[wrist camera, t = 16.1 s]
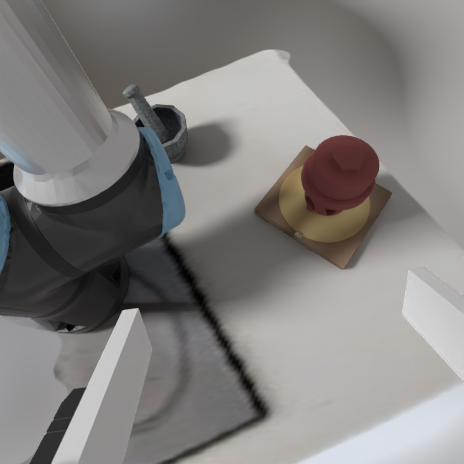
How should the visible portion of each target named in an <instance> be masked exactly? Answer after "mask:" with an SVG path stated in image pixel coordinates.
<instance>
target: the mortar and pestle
mask: <svg viewBox="0 0 464 464" xmlns="http://www.w3.org/2000/svg"><path fill="white" fill-rule="evenodd" d="M123 95H124V96H125V97H126V98H127V99H129V101H130V103H131V104H132V106H133V108H134V109H135V111H136V113H137V114H138V115H137V116H136V118H135V119H134V120H133V122H134V124H135V125H136V127H142V128H143V127H150V128H151V129H152V130H153V131H154V132H155V134H156V135H157V137H158V138H159V140H160V142H161V144H162V146H163V148H164V150H165V152H166V154H167V156H168V158H169V161H170V163H171V164H172V163H174V162H176V161H178V160H180V158H181V157H182V155H183V154H184V146H185V144H186V142H187V140H188V135H187V126H186V119H185V116H184V114H183V113H182V112H180V111H179V110H178V109H177V108H175V107H174V106H172V105H160V104H156V105H154V106H150V105H149V104H148V102H147V101H146V99H145V98H144V97H143V95H142V94H141V92H140V88H139V86H138V85H131V86H129V87H127V88H126V89H125V90H124V92H123Z"/></svg>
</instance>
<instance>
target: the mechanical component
mask: <svg viewBox="0 0 464 464" xmlns="http://www.w3.org/2000/svg"><path fill="white" fill-rule="evenodd" d="M378 171H379V159H378V156H377V154H376V153H375V151H374V150H373V149H372V147H371V146H369V144H367V143H366V142H364V141H362V140H361V139H358V138H356V137H352V136H346V135H340V136H334V137H331V138H328V139H326V140H324V141H323V142H322V143H321V144H320V145H319V146H318V147H317V149H316V150H315V151H314V152H313V153H312V154H311V155H310V156H309V157H308V158H307V159H306V161H305V163H304V166H303V169H302V172H301V183H302V186H303V189H304V191H305V201H306V203H307V205H306V208H307V210H308V211H311V212H313V211H314V212H316V213H318V214H320V215H324V216H333V215H336V214H339V213H341V212H342V211H343V210H348V209H352V208H355V207H357V206H359V205H360V204H362V203H363V202H364V201H365V200H366V199H367V198H368V196H369V195H370V194H371V192H372V191H373V188H374V185H375V177H376V176H377V174H378Z"/></svg>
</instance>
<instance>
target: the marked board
mask: <svg viewBox="0 0 464 464" xmlns="http://www.w3.org/2000/svg"><path fill="white" fill-rule="evenodd" d="M314 151H315V150H313V149H312V148H310V147H308V146H305V147H304V148H303V149H302V151H301V152H300V153H299V154H298V156H297V157H296V158H295V159H294V161H293V162H292V163H291V164H290V166H289V167H288V168H287V169H286V171H285V172H284V173H283V174H282V176H281V177H280V178H279V179H278V181H277V182H276V183H275V184H274V186H273V187H272V188H271V189H270V191H269V192H268V193H267V194H266V196H265V197H264V198H263V199H262V201H261V202H260V203H259V204H258V206H257V207H256V208H255V213H256V214H258V215H259V216H261V217H262V218H264V219H266V220H267V221H269V222H270V223H272V224H273V225H275V226H276V227H278V228H279V229H281V230H282V231H284V232H285V233H287V234H288V235H290V236H291V237H293V238H294V239H296V240H298V241H299V242H301V243H302V244H304V245H305V246H307V247H308V248H310V249H311V250H313V251H314V252H316V253H317V254H319V255H320V256H322V257H323V258H325V259H326V260H328V261H329V262H331V263H333V264H334V265H336V266H337V267H339V268H340V269H343V268H345V266H346V265H347V263H348V262H349V260H350V258H351V257H352V255H353V254H354V252H355V251H356V249H357V248H358V246H359V244H360V243H361V241H362V240H363V238H364V237H365V235H366V233H367V232H368V230H369V229H370V227H371V226H372V224H373V222H374V221H375V219H376V218H377V216H378V215H379V213H380V212H381V210H382V208H383V207H384V205H385V204H386V202H387V201H388V199H389V197H390V196H391V194H392V192H390V191H388V190H386V189H385V188H383V187H381V186H379V185H377V184H375V185H374V188H373V191H372V192H371V194H370V195H369V196H368V198H367V199H366V200H365V201H364V202H363V203H362V204H360V205H359V206H357V207H355V208H352V209H348V210H343V211H342V212H341V213H339V214H336V215H333V216H324V215H320V214H318V213H316V212H314V211H313V212H311V211H308V210H307V208H306V205H307V203H306V201H305V191H304V189H303V186H302V183H301V172H302V169H303V166H304V163H305V161H306V159H307V158H308V157H309V156H310V155H311V154H312V153H313V152H314Z"/></svg>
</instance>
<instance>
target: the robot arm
mask: <svg viewBox="0 0 464 464" xmlns="http://www.w3.org/2000/svg"><path fill="white" fill-rule="evenodd" d="M0 152H1V153H2V154H4V155H5V156H6V157H7V158H8V159H9V160H11V161H12V162H13V163H14V164H15V166H14V182H15V186H13V187H10V188H8V189H6V190H4V191H0V315H1V316H14V317H26V318H31V319H33V320H34V321H36V322H37V323H39V324H40V325H41V326H43V327H45V328H46V329H48V330H51V331H54V332H58V333H70V334H76V333H84V332H87V331H90V330H93V329H95V328H97V327H99V326H101V325H102V324H104V323H105V322H106V321H108V320H109V319H110V318H111V317H112V316H113V315H114V314H115V313H116V311H117V310H118V309H119V307H120V306H121V304H122V302H123V300H124V298H125V296H126V293H127V289H128V284H129V272H128V267H127V263H126V261H125V259H124V257H123V256H122V255H124V254H126V253H128V252H130V251H132V250H134V249H136V248H138V247H140V246H142V245H144V244H147V243H149V242H151V241H153V240H155V239H157V238H160V237H162V236H163V235H164V234H165V233H166V232H168V231H169V230H171V229H173V228H174V227H176V226H178V225H179V224H180V223H181V222H182V221H183V219H184V217H185V204H184V199H183V196H182V193H181V189H180V186H179V184H178V181H177V178H176V176H175V175H174V173H173V169H172V167H171V163H170V161H169V158H168V156H167V154H166V152H165V150H164V148H163V146H162V144H161V142H160V140H159V138H158V137H157V135H156V134H155V132H154V131H153V130H152V129H151V128H150V127H143V128H142V127H136V125H135V124H134V122H133V121H132V120H131V119H130V118H129V117H128V116H127V115H125V114H123V113H121V112H119V111H116V110H112V109H107V108H106V107H105V105H104V103H103V102H102V100H101V98H100V97H99V95H98V93H97V92H96V90H95V89H94V87H93V85H92V84H91V82H90V80H89V79H88V77H87V76H86V74H85V72H84V70H83V69H82V67H81V66H80V64H79V62H78V60H77V59H76V57H75V56H74V54H73V52H72V51H71V49H70V47H69V46H68V44H67V42H66V41H65V39H64V37H63V36H62V34H61V33H60V31H59V29H58V27H57V26H56V24H55V23H54V21H53V20H52V17H51V16H50V14H49V13H48V11H47V9H46V8H45V6H44V4H43V3H42V1H41V0H0ZM402 315H403V316H404V317H405V318H406V319H407V320H408V322H409V323H410V324H411V325H412V326H413V327H414V328H415V329H416V330H417V331H418V332H419V333H420V335H421V336H422V337H423V338H424V339H425V340H426V341H427V342H428V343H429V344H430V345H431V347H432V348H433V349H434V350H435V351H436V352H437V353H438V354H439V355H440V356H441V357H442V358H443V360H444V361H445V362H446V363H447V364H448V365H449V366H450V367H451V368H452V369H453V370H454V371H455V373H456V374H457V375H458V376H459V377H460V378H461V379H462V380H463V381H464V296H463V295H462V294H460V293H459V292H457V291H456V290H455V289H453V288H452V287H451V286H449V285H448V284H447V283H445V282H444V281H443V280H441V279H440V278H439V277H437V276H436V275H435V274H433V273H432V272H431V271H429V270H428V269H426V268H425V267H422V268H415V269H409V272H408V278H407V285H406V291H405V297H404V304H403V310H402ZM151 354H152V347H151V344H150V341H149V338H148V335H147V332H146V329H145V326H144V323H143V320H142V317H141V314H140V311H139V308H135V309H128V310H123V311H122V313H121V315H120V317H119V319H118V321H117V323H116V326H115V328H114V330H113V332H112V334H111V336H110V339H109V341H108V343H107V345H106V347H105V349H104V351H103V354H102V356H101V358H100V360H99V362H98V364H97V366H96V369H95V371H94V373H93V375H92V377H91V379H90V382H89V384H88V386H87V387H85V388H78V389H74V390H73V391H72V392H71V393H70V394H69V395H68V396H67V398H66V399H65V400H64V401H63V402H62V403H61V405H60V407H59V409H58V411H57V413H56V415H55V417H54V420H53V422H52V423H51V424H50V426H49V428H48V430H47V434H46V435H45V436H44V438H43V440H42V441H41V443H40V445H39V447H38V449H37V451H36V453H35V455H34V457H33V458H32V460H31V462H30V464H123V461H124V457H125V453H126V449H127V446H128V442H129V438H130V434H131V430H132V427H133V423H134V419H135V415H136V411H137V408H138V404H139V400H140V396H141V392H142V388H143V385H144V381H145V377H146V373H147V369H148V366H149V362H150V358H151Z"/></svg>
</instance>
